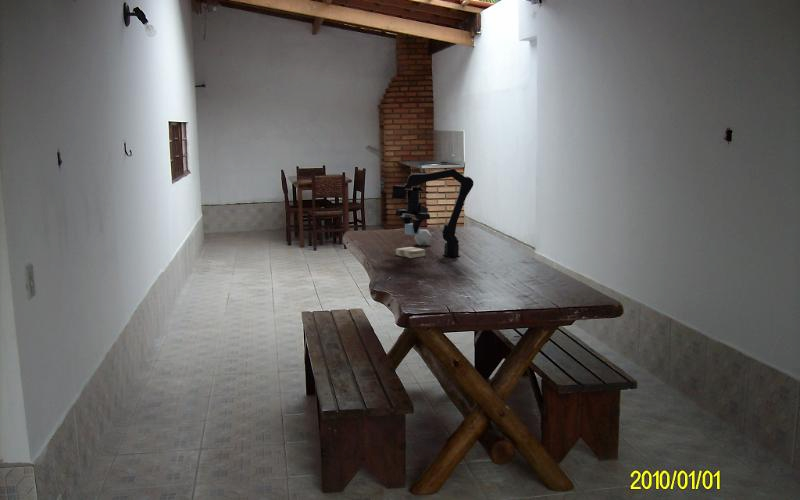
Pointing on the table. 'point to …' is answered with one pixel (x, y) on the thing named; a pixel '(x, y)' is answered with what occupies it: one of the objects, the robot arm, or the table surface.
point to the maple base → (410, 252)
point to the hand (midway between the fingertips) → (411, 232)
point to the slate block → (410, 229)
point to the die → (423, 237)
